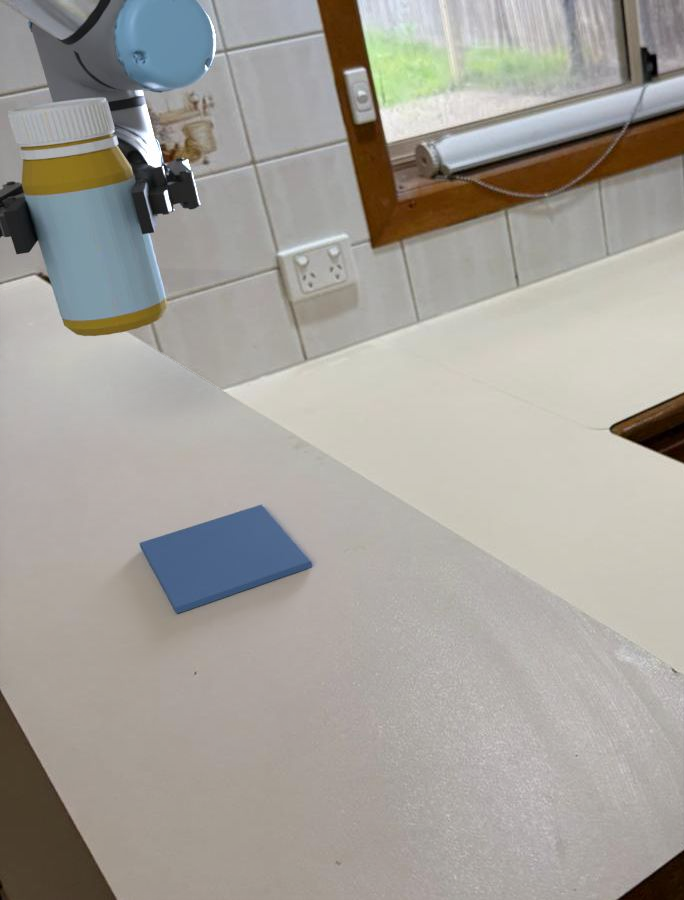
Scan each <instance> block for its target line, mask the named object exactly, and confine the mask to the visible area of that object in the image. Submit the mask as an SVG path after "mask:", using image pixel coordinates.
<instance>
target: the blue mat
mask: <svg viewBox="0 0 684 900" xmlns="http://www.w3.org/2000/svg"><path fill="white" fill-rule="evenodd" d="M139 547H140V550H141V552H142V553H143V556H144V557H145V559H146V560H147V563H148V564H149V566H150V568H151V571H152V572H153V574H154V575H155V578H156V579H157V581H158V583H159V584H160V587H161V588H162V590H163V592H164V594H165V596H166V598H167V599H168V601H169V603H170V605H171V606H172V609H173V610H174V612H175V614H176V615H178V614H181V613H184V612H186V611H190V610H193V609H195V608H198V607H201V606H205V605H206V604H209V603H213V602H215V601H216V602H217V601H219V600H221V599H224V598H227V597H229V596H234V595H235V594H238V593H241V592H244V591H247V590H249V589H253V588H256V587H259V586H261V585H264V584H267V583H271V582H273V581H275V580H279V579H281V578H285V577H287V576H291V575H294V574H296V573H298V572H302V571H305V570H308V569H310V568H313V565H312V561H311V559H309V557H308V556H307V555H306V554H305V553H304V552H303V551H302V549H301V548H300V547H299V546H298V544H297V543H296V542H295V541H294V540H293V539H292V538H291V536H290V535H289V534H288V533H287V532H286V530H285V529H284V528H283V527H282V526H281V525H280V524H279V523H278V521H277V520H276V519H275V517H273V516H272V515H271V513H270V512H269V511H268V510H267V508H266V507H265V506H264V505H263V504H259V505H255V506H252V507H249V508H246V509H242V510H239V511H235V512H233V513H230V514H226V515H224V516H220V517H218V518H214V519H211V520H208V521H204V522H201V523H198V524H195V525H192V526H189V527H185V528H181V529H179V530H176V531H173V532H170V533H166V534H163V535H161V536H157V537H154V538H150V539H147V540H143V541H141V542H139Z"/></svg>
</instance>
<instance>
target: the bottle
mask: <svg viewBox="0 0 684 900" xmlns="http://www.w3.org/2000/svg"><path fill="white" fill-rule="evenodd" d="M7 117H8V121H9V125H10V128H11V131H12V135H13V138H14V141H15V144H17V146H18V147H19V148H18V152H19V155H20V158H21V159H20V160H22V170H21V171H22V172H21V183H22V187H23V191H24V196H25V199H26V202H27V206H28V209H29V212H30V216H31V219H32V222H33V226H34V229H35V232H36V235H37V239H38V241H37V243H38V245H39V249H40V252H41V255H42V259H43V262H44V266H45V268H46V272H47V275H48V278H49V281H50V285H51V287H52V288H51V289H52V292H53V295H54V298H55V302H56V305H57V309H58V311H59V315H60V317H61V320H62V324H63V326H64V327H65V328H66V329H68V330H69V331H71V332H72V333H74V334H75V335H76V336H81V337H99V336H107V335H109V336H110V335H114V334H121V333H124V332H128V331H133V330H137V329H140V328H142V327H146V326H149V325H151V324H153V323H155V322H157V321H159V320H160V319H161V318H163V316H164V314H165V312H166V310H167V308H168V301H167V296H166V295H167V294H166V292H165V291H166V290H165V287H164V284H163V280H162V276H161V272H160V268H159V264H158V261H157V256H156V253H155V249H154V245H153V241H152V238H151V233H148V234H142V231H141V228H140V224H139V220H138V216H137V212H136V209H135V205H134V201H133V197H132V194H131V193H132V190H133V188H134V185H135V183H136V180H135V177H134V175H133V171H132V167H131V165H130V164H129V162H128V161H127V159H126V158H125V156H124V155H123V153H122V152H121V150H120V149H119V147H118V140H117V136H116V135H114V134H113V133H114V132H115V131H114V129H115V127H114V123H113V119H112V116H111V112H110V108H109V104H108V101H106V98H104V97H99V98H86V99H76V100H68V101H60V102H53V101H52V102H46V103H41V104H35V105H29V106H23V107H18V108H14V109H13V108H12V109H10V110H9V109H8V111H7Z"/></svg>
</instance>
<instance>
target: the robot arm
mask: <svg viewBox="0 0 684 900" xmlns="http://www.w3.org/2000/svg"><path fill="white" fill-rule="evenodd" d="M0 2H1V3H2V4H3V5H5V6H7V7H8V8H9V9H11V10H13V11H14V12H16V13H17V14H19V15H20V16H22V17H23V18H25V19H26V20H27V21H28V22H27V25H28V28H29V31H30V32H31V33H32V37H33V40H34V43H35V47H36V50H37V53H38V57H39V60H40V63H41V68H42V70H43V73H44V76H45V80H46V84H47V87H48V90H49V93H50V98H51V100H52V103H53V102H60V101H68V100H76V99H86V98H99V97H104V98H106V101H108V104H109V108H110V112H111V116H112V119H113V123H114V127H115V129H114V131H115V132H114V133H113V134H114V135H116V136H117V140H118V147H119V149H120V150H121V152H122V153H123V155H124V156H125V158H126V159H127V161H128V162H129V164H130V165H131V167H132V171H133V175H134V177H135V180H136V183H135V185H134V188H133V190H132V193H131V194H132V197H133V201H134V205H135V209H136V212H137V216H138V220H139V224H140V228H141V231H142V234H148V233H149V234H153V233H155V231H156V226H157V223H158V217H159V216H158V215H163V216H164V215H166V216H167V215H170V214H171V213H173V212H174V211H175V207H174V206H175V205H177V204H178V205H180V206H181V207H182V208H183V209H188V210H195V209H197V208H198V207H200V206H201V202H200V198H199V193H198V189H197V186H196V182H195V178H194V173H193V170H191V166H190V163H189V159H188V158H184V157H176V158H175V159H174V160H171V161H169V162H164V159H163V153H162V150H161V146H160V142H159V140H158V139H157V138H155V134H154V129H153V125H152V122H151V118H150V114H149V110H148V107H147V102H146V97H145V94H144V91H146V92H152V93H161V94H162V93H165V92H171V91H174V90H178V89H183V88H187V87H189V86H192V85H194V84H195V83H197V82H199V81H200V80H201V79H202V78H203V77H204V76H205V75H206V73H207V72H208V71H209V69H210V68H211V67H212V63H213V60H214V58H215V54H216V50H217V49H216V46H217V41H216V40H217V39H216V33H215V29H214V25H213V23H212V20H211V18H210V16H209V14H208V13H207V11H206V9H205V8H204V7H203V5H202V4H201V3H200V2H199V1H198V0H0ZM1 186H2V188H1V189H0V239H1V238H2V237H4V238H9V237H10V239H11V241H12V245H13V248H14V250H15V254H16V255H23V254H28V253H30V252H31V251H32V249H33V248H34V247H35V245H36V244H37V243H38V239H37V235H36V232H35V229H34V226H33V222H32V219H31V216H30V212H29V209H28V206H27V202H26V199H25V196H24V191H23V187H22V182H20V181H19V182H18V181H17V182H16V181H15V180H14V181H13V180H12V181H7V182H6V183H5V184H2V185H1Z"/></svg>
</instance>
